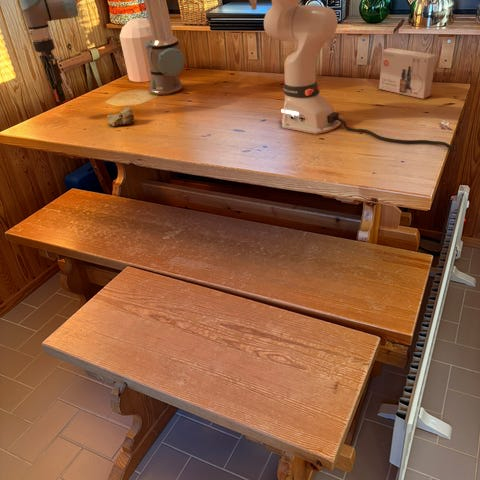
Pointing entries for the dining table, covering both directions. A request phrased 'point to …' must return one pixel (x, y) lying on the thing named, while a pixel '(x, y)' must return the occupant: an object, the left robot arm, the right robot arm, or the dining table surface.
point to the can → (56, 95)
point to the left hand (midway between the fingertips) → (60, 99)
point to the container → (136, 48)
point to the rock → (121, 118)
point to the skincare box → (407, 72)
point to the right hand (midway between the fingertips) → (253, 7)
